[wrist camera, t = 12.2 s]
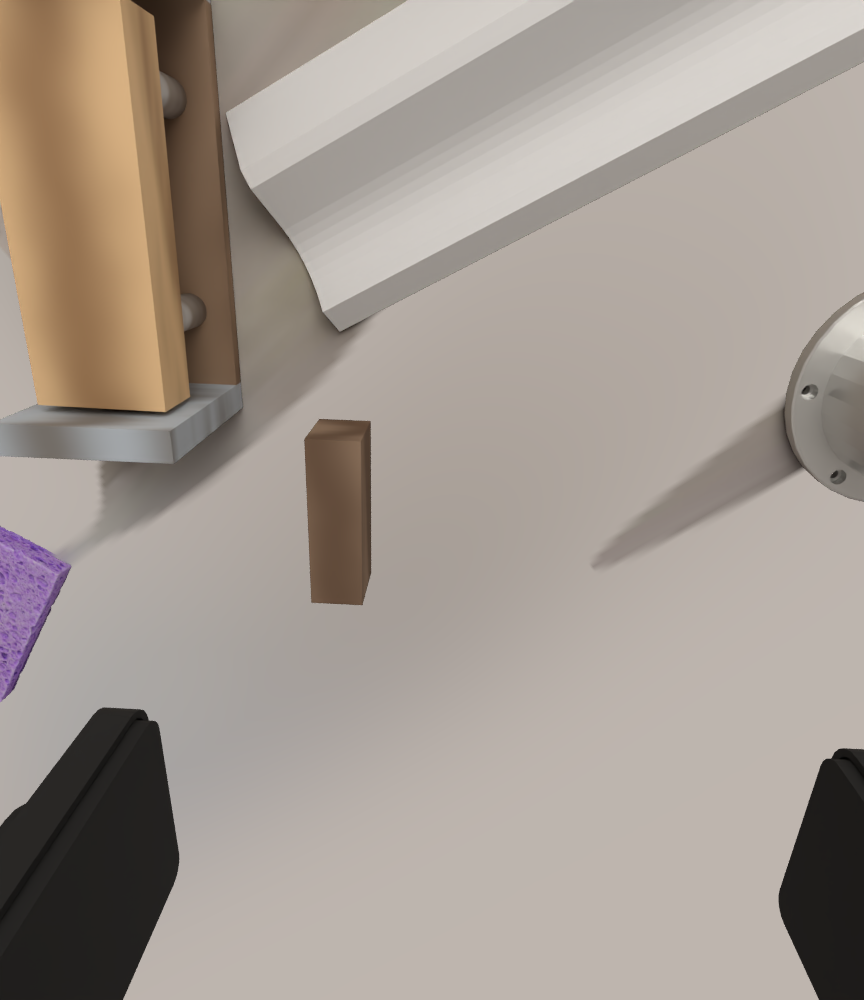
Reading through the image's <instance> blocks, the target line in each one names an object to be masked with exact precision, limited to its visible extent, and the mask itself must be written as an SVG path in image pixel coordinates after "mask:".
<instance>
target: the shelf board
mask: <svg viewBox="0 0 864 1000" xmlns="http://www.w3.org/2000/svg"><path fill="white" fill-rule="evenodd" d="M0 202H1V207H2V213H3V218H4V224H5V229H6V234H7V240H8V245H9V251H10V256H11V261H12V267H13V272H14V277H15V283H16V288H17V293H18V299H19V304H20V310H21V315H22V320H23V326H24V331H25V337H26V342H27V348H28V353H29V359H30V364H31V369H32V375H33V380H34V386H35V391H36V396H37V402H38V405H47V406H65V407H83V408H101V409H119V410H137V411H155V412H167V411H168V410H170V409H171V408H173V407H175V406H176V405H178V404H179V403H181V402H183V401H184V400H186V399H187V398H189V397H190V390H189V379H188V369H187V358H186V348H185V337H184V327H183V316H182V306H181V295H180V285H179V274H178V264H177V253H176V243H175V232H174V222H173V211H172V201H171V190H170V180H169V169H168V159H167V148H166V138H165V127H164V117H163V106H162V96H161V85H160V75H159V64H158V54H157V43H156V33H155V22H154V16H153V15H151V14H150V13H148V12H147V11H145V10H144V9H142V8H141V7H140V6H138V5H137V4H135V3H134V2H132V1H131V0H0Z"/></svg>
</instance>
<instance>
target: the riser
mask: <svg viewBox="0 0 864 1000" xmlns="http://www.w3.org/2000/svg"><path fill="white" fill-rule="evenodd" d="M370 428H371V423H370V421H352V420H328V419H319V421H318V422H317V423H316V424H315V426H314V427H313V429H312V430H311V431H310V432H309V434H308V435H307V436H306V438H305V440H304V441H305V463H306V486H307V508H308V509H307V510H308V533H309V554H310V555H309V556H310V578H311V602H312V603H330V604H350V605H363V601H364V597H365V593H366V589H367V586H368V582H369V578H370V575H371V436H370V435H371V431H370V430H371V429H370Z"/></svg>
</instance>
